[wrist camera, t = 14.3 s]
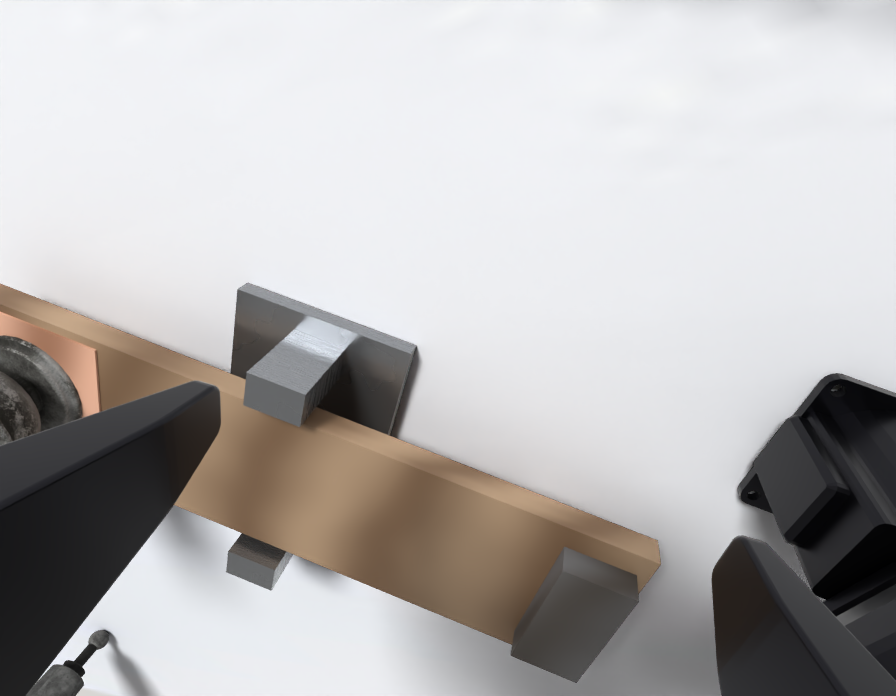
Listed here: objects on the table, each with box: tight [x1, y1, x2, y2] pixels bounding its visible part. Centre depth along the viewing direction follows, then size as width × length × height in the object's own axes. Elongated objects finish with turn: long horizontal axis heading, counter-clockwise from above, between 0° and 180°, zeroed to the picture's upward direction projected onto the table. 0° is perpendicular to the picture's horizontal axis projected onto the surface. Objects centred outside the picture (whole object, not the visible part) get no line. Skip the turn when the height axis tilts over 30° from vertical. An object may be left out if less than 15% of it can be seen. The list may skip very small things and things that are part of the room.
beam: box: [0, 284, 661, 683], centre depth 24 cm, size 32×8×2 cm, turn 73°
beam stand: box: [226, 283, 416, 590], centre depth 25 cm, size 8×14×5 cm, turn 163°
